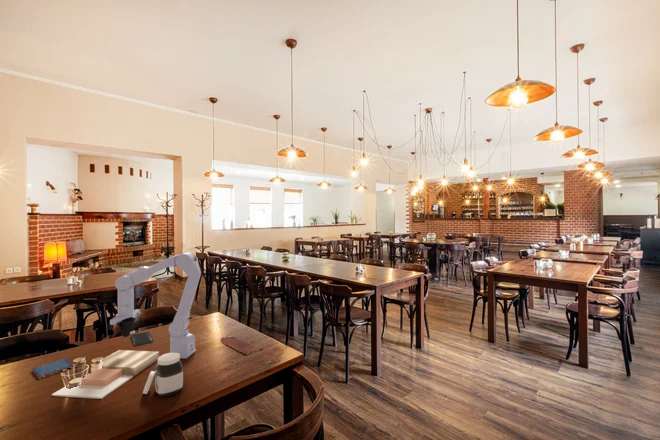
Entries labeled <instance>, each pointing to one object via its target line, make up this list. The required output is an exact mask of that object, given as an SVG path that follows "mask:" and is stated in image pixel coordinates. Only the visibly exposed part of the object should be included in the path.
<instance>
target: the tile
mask: <svg viewBox="0 0 660 440" xmlns="http://www.w3.org/2000/svg"><path fill="white" fill-rule="evenodd" d="M121 375H123V372H122V369H107V368H101V369H99V370H96V371H94V372H93V373H91V372H90V374H89V375H88V376H86V377H84V378H82V379H81V384H82V385H94V386H106V385H107V384H109V383H110V382H112V381H114V380H115V379H117V378H118V377H120V376H121Z"/></svg>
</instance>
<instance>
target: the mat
mask: <svg viewBox="0 0 660 440" xmlns="http://www.w3.org/2000/svg"><path fill="white" fill-rule="evenodd" d="M87 374H88V375H89V374H91V372H90V373H87ZM88 375H87V376H88ZM132 378H134V376H131V375H121V376H120V377H118V378H117V379H115V380H114V381H112V382H110V383H109V384H107V385H106V386H94V385H80V386H77V387H73V388H71V389H67V388H66V386H67V385H66V386H64V387H62V388H60V389H59V390H57V391H55V392H53V393H52V394H51V397H61V398H62V397H63V398H64V397H65V398H77V399H78V398H80V399H81V398H83V399H97V400H99V399H100V400H102V399H104V398H105V397H107V396H108V395H109V394H110V393H112V392H114V391H115V390H117V389H118V388H119V387H120V386H122V385H124V384H125V383H127V382H128V381H129V380H131V379H132Z"/></svg>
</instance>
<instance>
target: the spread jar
mask: <svg viewBox="0 0 660 440" xmlns="http://www.w3.org/2000/svg"><path fill="white" fill-rule="evenodd" d="M180 359H181V358H180V354H179V353H170V352H167V353H164V354H162V355H159V357H158V360H157V364H156V365H155V369H154V371H153V370H151V371H150V372H149V375H148V378H147V380H146V383H145V385H144V388H143V390H142V394H145V395H148V393H149V391H150V387H151V385H152V383H153V381H154V387H155V392H156V394H157V395H158V396H160V397H170V396H172V395H175V394H177V393H178V392H179V391H181V390H182V389H183V385H184V370H183V364H182V361H181V360H180Z"/></svg>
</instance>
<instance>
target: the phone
mask: <svg viewBox="0 0 660 440" xmlns="http://www.w3.org/2000/svg"><path fill="white" fill-rule="evenodd" d="M130 340H131V342H132V344H133V346H134V347H138V346H142V345H147V344H151V343H154V339H153V336H152V335H151V334H150V332H149V331H145V332H140V333H135V334H130Z"/></svg>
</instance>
